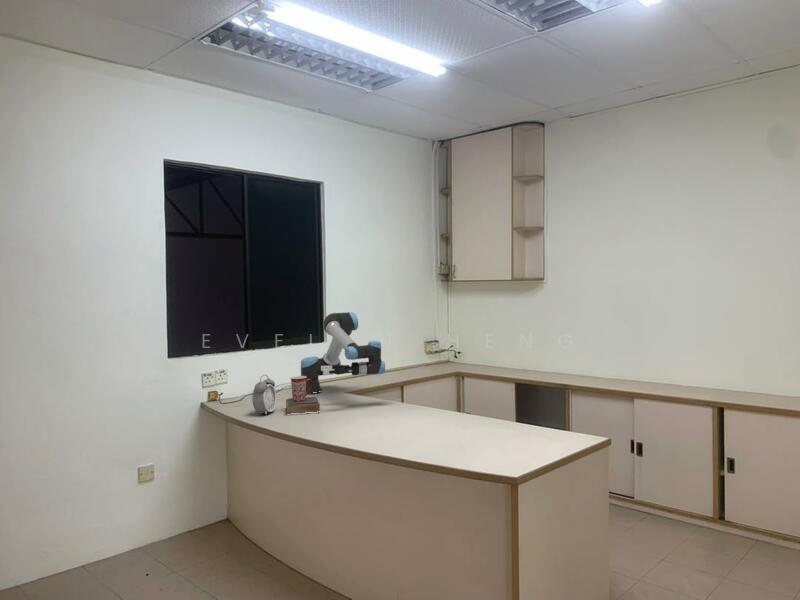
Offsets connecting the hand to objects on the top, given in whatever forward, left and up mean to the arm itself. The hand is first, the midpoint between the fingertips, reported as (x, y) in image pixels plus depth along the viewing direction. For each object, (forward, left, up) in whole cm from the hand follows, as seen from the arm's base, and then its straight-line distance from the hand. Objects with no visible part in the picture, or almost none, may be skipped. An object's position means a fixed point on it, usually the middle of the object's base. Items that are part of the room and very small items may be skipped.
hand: (322, 370), depth 319 cm
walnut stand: (0, -11, -23) cm, 26 cm away
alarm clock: (+1, -32, -23) cm, 40 cm away
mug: (-1, -12, -17) cm, 21 cm away
